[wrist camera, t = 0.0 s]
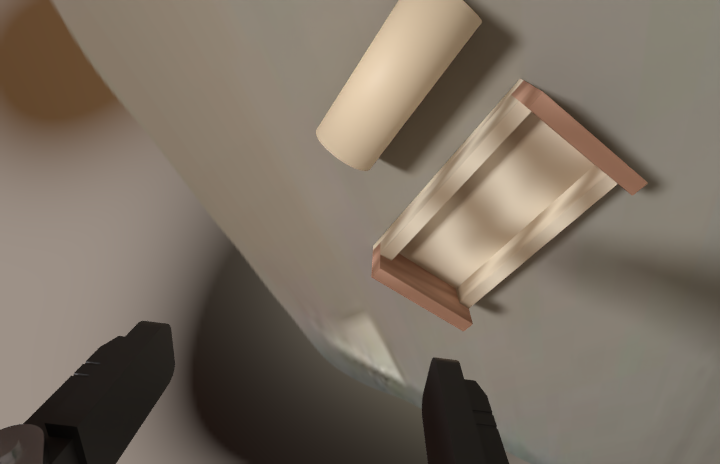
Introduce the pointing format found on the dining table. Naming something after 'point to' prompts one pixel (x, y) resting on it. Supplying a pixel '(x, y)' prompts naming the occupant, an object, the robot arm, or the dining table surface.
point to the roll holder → (496, 204)
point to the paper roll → (395, 77)
